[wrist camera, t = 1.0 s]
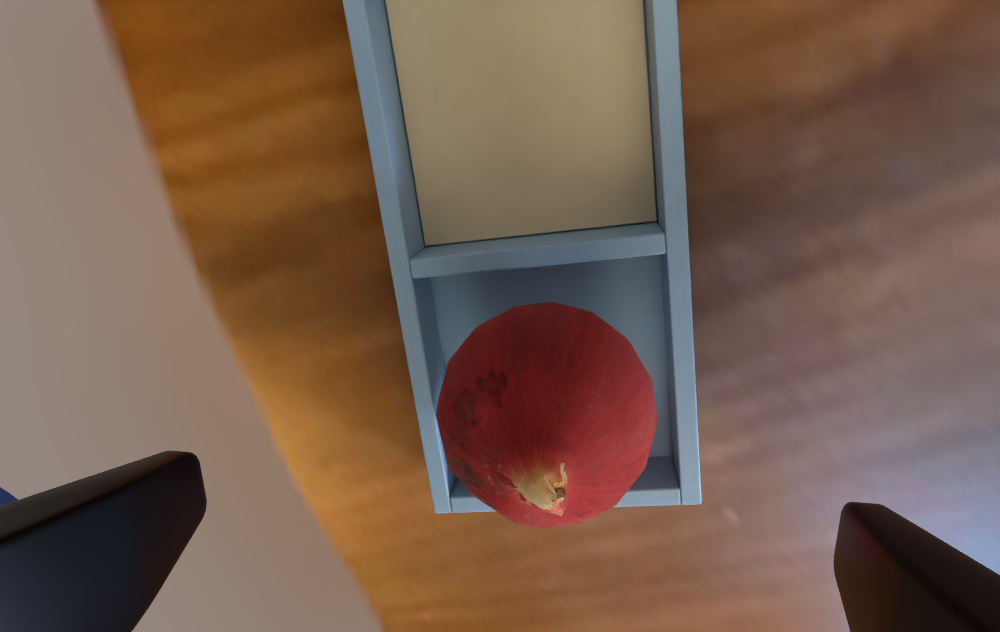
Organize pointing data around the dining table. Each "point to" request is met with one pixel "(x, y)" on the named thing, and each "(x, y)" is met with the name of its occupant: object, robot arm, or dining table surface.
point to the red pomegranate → (546, 414)
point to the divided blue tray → (534, 192)
